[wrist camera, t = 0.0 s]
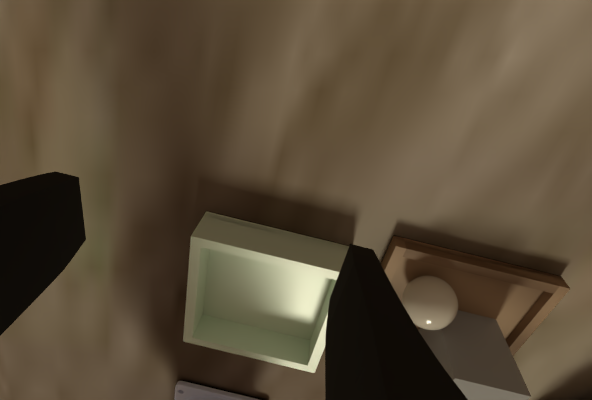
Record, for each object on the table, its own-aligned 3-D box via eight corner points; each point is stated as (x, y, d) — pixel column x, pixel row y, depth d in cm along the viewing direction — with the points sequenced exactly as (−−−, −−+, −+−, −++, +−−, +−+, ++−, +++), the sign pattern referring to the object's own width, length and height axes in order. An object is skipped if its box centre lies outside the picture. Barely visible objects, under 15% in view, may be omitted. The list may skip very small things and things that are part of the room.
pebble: (438, 306, 23) (450, 347, 20) (391, 295, 23) (397, 334, 20) (459, 271, 21) (475, 311, 19) (409, 259, 21) (418, 297, 19)
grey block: (467, 357, 25) (492, 435, 20) (410, 344, 25) (424, 419, 20) (496, 319, 23) (531, 396, 18) (434, 304, 23) (455, 378, 18)
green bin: (316, 341, 26) (314, 373, 24) (196, 312, 26) (182, 341, 24) (352, 247, 22) (353, 275, 20) (206, 211, 22) (190, 235, 19)
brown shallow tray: (467, 391, 27) (471, 405, 26) (337, 360, 27) (337, 372, 26) (561, 276, 21) (570, 288, 20) (393, 235, 21) (395, 246, 20)
